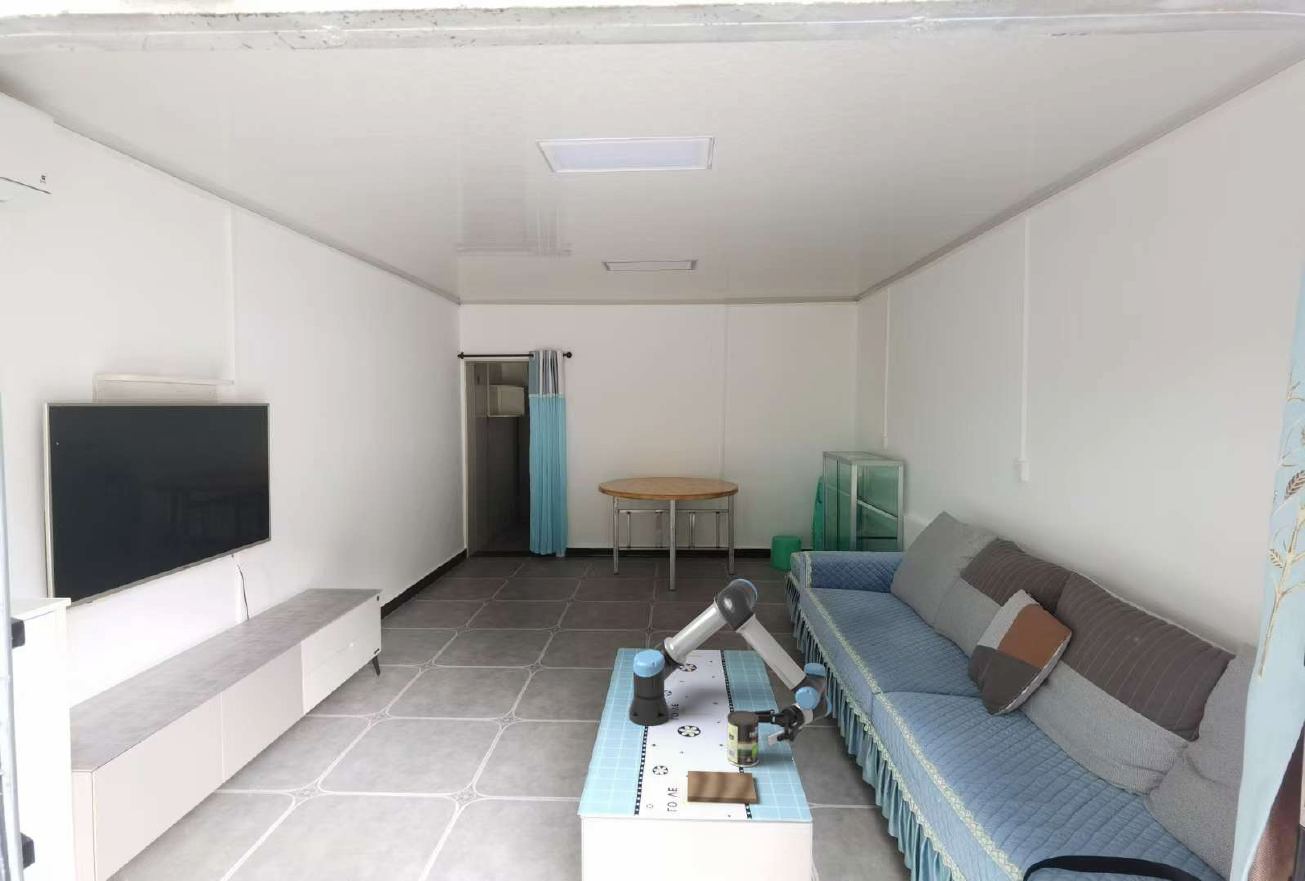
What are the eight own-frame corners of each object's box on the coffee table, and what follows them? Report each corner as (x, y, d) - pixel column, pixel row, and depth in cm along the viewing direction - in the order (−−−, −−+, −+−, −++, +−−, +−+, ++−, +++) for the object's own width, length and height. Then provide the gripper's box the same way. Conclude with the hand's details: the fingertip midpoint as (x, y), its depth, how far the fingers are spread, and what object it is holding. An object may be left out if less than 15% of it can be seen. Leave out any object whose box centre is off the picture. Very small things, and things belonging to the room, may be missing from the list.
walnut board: (687, 801, 190) (687, 796, 190) (687, 775, 204) (687, 770, 204) (756, 803, 189) (756, 798, 189) (752, 777, 203) (752, 772, 203)
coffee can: (763, 756, 215) (763, 714, 215) (751, 770, 207) (751, 727, 206) (735, 748, 221) (735, 707, 220) (721, 762, 212) (721, 719, 212)
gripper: (825, 739, 218) (782, 759, 206) (770, 713, 238) (727, 729, 226) (825, 717, 218) (782, 736, 205) (770, 693, 238) (727, 708, 225)
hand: (753, 732), depth 216 cm, fingers open, 13 cm apart
